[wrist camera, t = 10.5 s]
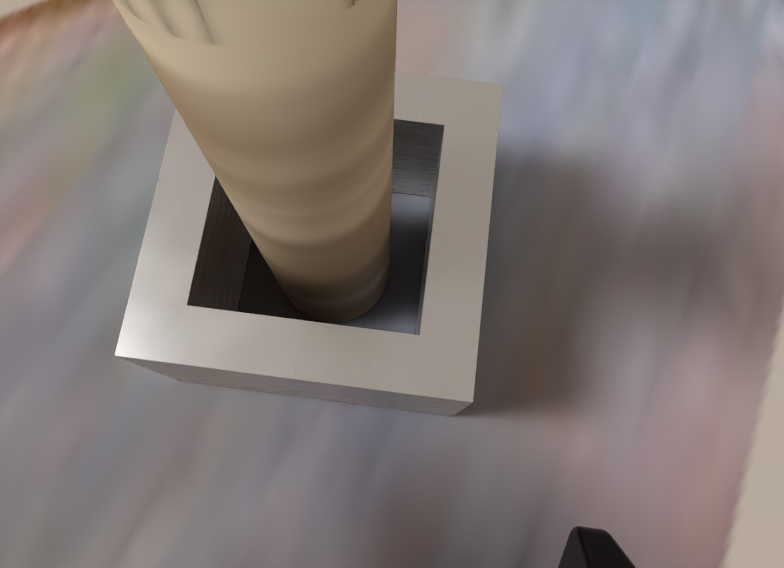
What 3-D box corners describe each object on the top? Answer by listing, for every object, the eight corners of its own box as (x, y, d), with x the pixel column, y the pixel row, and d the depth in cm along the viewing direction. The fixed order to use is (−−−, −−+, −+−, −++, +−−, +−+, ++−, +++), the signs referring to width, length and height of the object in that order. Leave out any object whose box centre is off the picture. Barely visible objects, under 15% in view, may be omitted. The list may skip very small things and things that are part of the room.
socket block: (451, 416, 16) (473, 402, 13) (176, 380, 17) (114, 355, 13) (477, 163, 18) (502, 84, 15) (230, 133, 19) (190, 47, 15)
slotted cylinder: (409, 287, 17) (477, -160, 5) (312, 342, 17) (112, 5, 4) (354, 199, 18) (289, -393, 6) (260, 250, 18) (-41, -268, 5)
